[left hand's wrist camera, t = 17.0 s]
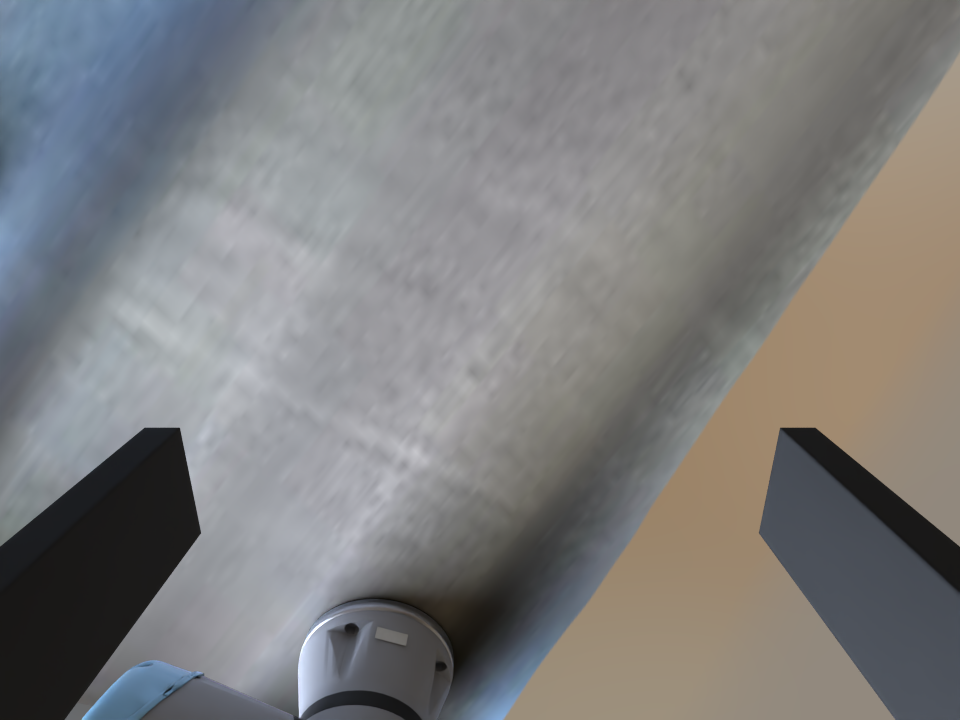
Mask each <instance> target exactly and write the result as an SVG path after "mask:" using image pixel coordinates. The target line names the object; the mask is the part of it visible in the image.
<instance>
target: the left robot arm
mask: <svg viewBox="0 0 960 720" xmlns="http://www.w3.org/2000/svg"><path fill="white" fill-rule="evenodd" d="M200 534H201V531H200V526H199V521H198V516H197V511H196V506H195V501H194V496H193V491H192V486H191V481H190V476H189V471H188V466H187V461H186V456H185V451H184V446H183V441H182V436H181V431H180V428H144V429H143V430H141V431H140V432H139V433H138V434H137V435H135V436H134V437H133V438H132V439H131V440H129V441H128V442H127V443H126V444H124V445H123V446H122V447H121V448H120V449H118V450H117V451H116V452H115V453H114V454H112V455H111V456H110V457H109V458H107V459H106V460H105V461H104V462H103V463H101V464H100V465H99V466H98V467H97V468H95V469H94V470H93V471H92V472H90V473H89V474H88V475H87V476H86V477H84V478H83V479H82V480H81V481H80V482H78V483H77V484H76V485H75V486H73V487H72V488H71V489H70V490H69V491H67V492H66V493H65V494H64V495H63V496H61V497H60V498H59V499H58V500H56V501H55V502H54V503H53V504H52V505H50V506H49V507H48V508H47V509H46V510H44V511H43V512H42V513H41V514H39V515H38V516H37V517H36V518H35V519H33V520H32V521H31V522H30V523H29V524H27V525H26V526H25V527H24V528H22V529H21V530H20V531H19V532H18V533H16V534H15V535H14V536H13V537H12V538H10V539H9V540H8V541H7V542H5V543H4V544H3V545H2V546H1V547H0V720H65V718H66V717H67V716H68V714H69V713H70V711H71V710H72V709H73V707H74V706H75V705H76V703H77V702H78V701H79V699H80V698H81V696H82V695H83V694H84V692H85V691H86V690H87V688H88V687H89V685H90V684H91V683H92V681H93V680H94V679H95V677H96V676H97V675H98V673H99V672H100V670H101V669H102V668H103V666H104V665H105V664H106V662H107V661H108V660H109V658H110V657H111V655H112V654H113V653H114V651H115V650H116V649H117V647H118V646H119V644H120V643H121V642H122V640H123V639H124V638H125V636H126V635H127V634H128V632H129V631H130V629H131V628H132V627H133V625H134V624H135V623H136V621H137V620H138V619H139V617H140V616H141V614H142V613H143V612H144V610H145V609H146V608H147V606H148V605H149V603H150V602H151V601H152V599H153V598H154V597H155V595H156V594H157V593H158V591H159V590H160V588H161V587H162V586H163V584H164V583H165V582H166V580H167V579H168V578H169V576H170V575H171V573H172V572H173V571H174V569H175V568H176V567H177V565H178V564H179V562H180V561H181V560H182V558H183V557H184V556H185V554H186V553H187V552H188V550H189V549H190V547H191V546H192V545H193V543H194V542H195V541H196V539H197V538H198V537H199V535H200ZM759 534H760V535H761V537H762V538H763V539H764V541H765V542H766V543H767V545H768V546H769V547H770V549H771V550H772V552H773V553H774V554H775V556H776V557H777V558H778V560H779V561H780V562H781V564H782V565H783V566H784V568H785V569H786V571H787V572H788V573H789V575H790V576H791V577H792V579H793V580H794V582H795V583H796V584H797V586H798V587H799V588H800V590H801V591H802V593H803V594H804V595H805V597H806V598H807V599H808V601H809V602H810V603H811V605H812V606H813V608H814V609H815V610H816V612H817V613H818V614H819V616H820V617H821V618H822V620H823V621H824V623H825V624H826V625H827V627H828V628H829V629H830V631H831V632H832V634H833V635H834V636H835V638H836V639H837V640H838V642H839V643H840V644H841V646H842V647H843V649H844V650H845V651H846V653H847V654H848V655H849V657H850V658H851V660H852V661H853V662H854V664H855V665H856V666H857V668H858V669H859V670H860V672H861V673H862V675H863V676H864V677H865V679H866V680H867V681H868V683H869V684H870V685H871V687H872V688H873V690H874V691H875V692H876V694H877V695H878V696H879V698H880V699H881V701H882V702H883V703H884V705H885V706H886V707H887V709H888V710H889V711H890V713H891V714H892V716H893V717H894V718H895V720H960V547H959V546H958V545H957V544H956V543H955V542H953V541H952V540H951V539H950V538H948V537H947V536H946V535H945V534H944V533H942V532H941V531H940V530H939V529H937V528H936V527H935V526H934V525H933V524H931V523H930V522H929V521H928V520H927V519H925V518H924V517H923V516H922V515H921V514H919V513H918V512H917V511H916V510H914V509H913V508H912V507H911V506H910V505H908V504H907V503H906V502H905V501H904V500H902V499H901V498H900V497H899V496H897V495H896V494H895V493H894V492H893V491H891V490H890V489H889V488H888V487H887V486H885V485H884V484H883V483H882V482H880V481H879V480H878V479H877V478H876V477H874V476H873V475H872V474H871V473H870V472H868V471H867V470H866V469H865V468H863V467H862V466H861V465H860V464H859V463H857V462H856V461H855V460H854V459H853V458H851V457H850V456H849V455H848V454H846V453H845V452H844V451H843V450H842V449H840V448H839V447H838V446H837V445H835V444H834V443H833V442H832V441H831V440H829V439H828V438H827V437H826V436H825V435H823V434H822V433H821V432H820V431H819V430H817V429H816V428H780V431H779V436H778V442H777V446H776V451H775V456H774V461H773V466H772V471H771V476H770V481H769V486H768V491H767V496H766V501H765V506H764V511H763V516H762V521H761V526H760V531H759ZM453 666H454V655H453V649H452V646H451V643H450V640H449V638H448V637H447V635H446V633H445V632H444V630H443V629H442V628H441V627H440V626H439V624H438V623H437V622H436V621H434V620H433V619H432V618H431V617H429V616H428V615H427V614H425V613H424V612H422V611H420V610H418V609H416V608H414V607H412V606H409V605H407V604H404V603H400V602H396V601H392V600H385V599H363V600H357V601H352V602H348V603H345V604H342V605H339V606H337V607H335V608H333V609H331V610H329V611H328V612H326V613H325V614H324V615H322V616H321V617H320V618H319V619H318V620H317V621H316V622H315V623H314V624H313V626H312V627H311V628H310V630H309V632H308V634H307V636H306V639H305V641H304V644H303V647H302V650H301V653H300V659H299V666H298V685H299V718H298V717H296V716H294V715H292V714H289V713H287V712H285V711H282V710H280V709H278V708H276V707H273V706H271V705H269V704H266V703H264V702H262V701H260V700H257V699H255V698H253V697H250V696H248V695H246V694H244V693H241V692H239V691H237V690H234V689H232V688H230V687H227V686H225V685H223V684H221V683H218V682H216V681H214V680H211V679H209V678H207V677H205V676H204V673H202V672H199V671H195V672H190V671H187V670H184V669H182V668H179V667H176V666H173V665H171V664H168V663H165V662H162V661H158V660H150V661H145V662H142V663H140V664H138V665H136V666H134V667H132V668H131V669H130V670H128V671H127V672H126V673H124V674H123V675H122V676H121V677H120V678H119V679H118V680H117V681H116V682H115V683H114V684H113V685H112V686H111V687H110V688H109V689H108V690H107V691H106V692H105V693H104V694H103V696H102V697H101V698H100V699H99V700H98V701H97V702H96V703H95V704H94V706H93V707H92V708H91V709H90V710H89V711H88V713H87V714H86V715H85V716H84V717H83V719H82V720H437V719H438V717H439V714H440V712H441V710H442V707H443V705H444V703H445V700H446V698H447V696H448V693H449V690H450V687H451V683H452V679H453Z"/></svg>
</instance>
